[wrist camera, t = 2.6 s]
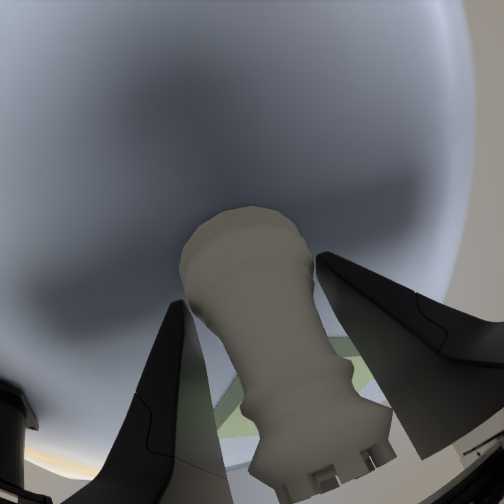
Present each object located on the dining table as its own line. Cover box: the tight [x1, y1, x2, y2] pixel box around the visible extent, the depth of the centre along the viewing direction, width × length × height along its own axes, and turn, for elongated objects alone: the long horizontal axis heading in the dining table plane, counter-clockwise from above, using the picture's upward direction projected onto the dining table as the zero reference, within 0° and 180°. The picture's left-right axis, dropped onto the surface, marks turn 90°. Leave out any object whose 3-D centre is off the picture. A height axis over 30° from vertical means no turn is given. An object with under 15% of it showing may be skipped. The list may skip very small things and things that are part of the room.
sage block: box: [213, 338, 374, 438], centre depth 17 cm, size 10×10×2 cm
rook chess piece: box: [178, 206, 397, 504], centre depth 7 cm, size 4×4×8 cm
